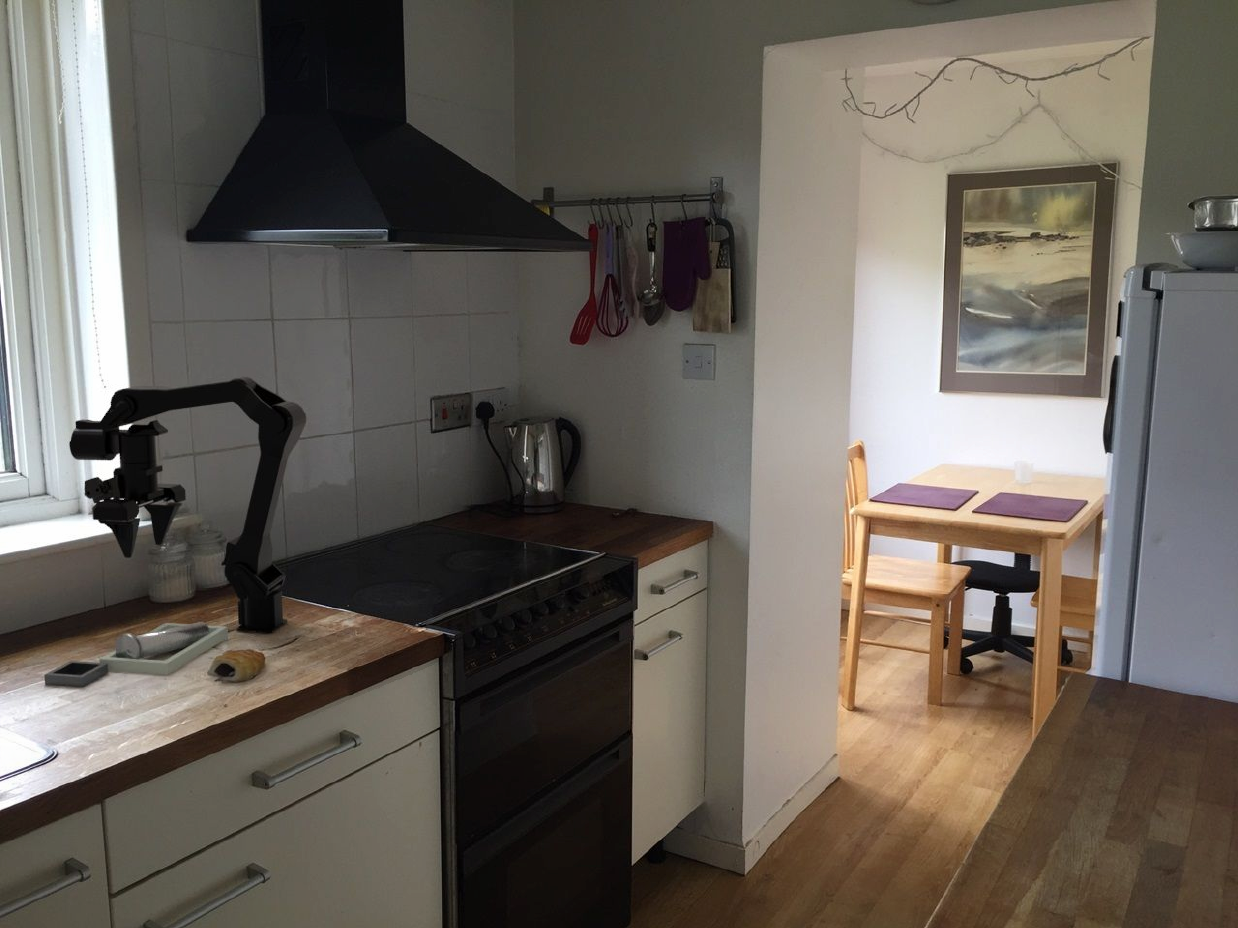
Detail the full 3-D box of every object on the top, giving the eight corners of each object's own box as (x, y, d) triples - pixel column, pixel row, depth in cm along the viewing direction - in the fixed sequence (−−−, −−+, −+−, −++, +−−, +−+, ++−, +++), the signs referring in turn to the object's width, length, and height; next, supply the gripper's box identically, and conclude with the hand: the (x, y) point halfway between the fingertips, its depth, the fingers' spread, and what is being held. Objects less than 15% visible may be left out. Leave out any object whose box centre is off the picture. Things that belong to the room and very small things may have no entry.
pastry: (237, 661, 172) (237, 637, 172) (277, 664, 171) (276, 641, 170) (204, 682, 163) (203, 657, 163) (245, 686, 162) (244, 661, 161)
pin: (207, 614, 177) (130, 630, 165) (215, 643, 176) (138, 661, 164) (189, 621, 179) (112, 638, 167) (196, 650, 179) (119, 668, 167)
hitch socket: (108, 677, 164) (107, 663, 163) (83, 692, 158) (82, 677, 157) (71, 675, 165) (70, 660, 164) (45, 689, 159) (44, 674, 158)
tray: (228, 641, 181) (227, 626, 181) (168, 679, 163) (167, 663, 163) (166, 637, 183) (165, 622, 182) (100, 674, 165) (99, 658, 165)
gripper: (126, 451, 195) (132, 536, 198) (58, 468, 177) (65, 562, 179) (185, 453, 193) (189, 539, 196) (122, 470, 175) (128, 565, 178)
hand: (143, 550), depth 187 cm, fingers open, 9 cm apart
